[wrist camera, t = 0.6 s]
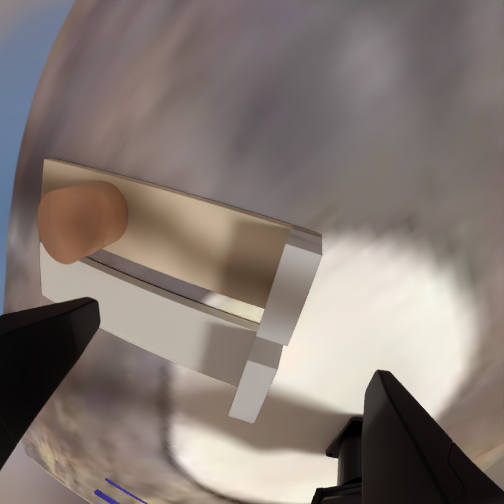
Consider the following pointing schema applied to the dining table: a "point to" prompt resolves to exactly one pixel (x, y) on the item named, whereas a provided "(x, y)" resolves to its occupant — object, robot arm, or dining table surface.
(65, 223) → the rounded peach dome
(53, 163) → the birch strip
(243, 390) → the grey strip
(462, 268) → the dining table surface
